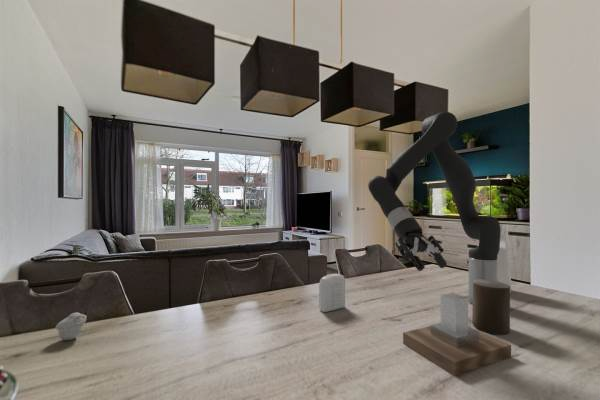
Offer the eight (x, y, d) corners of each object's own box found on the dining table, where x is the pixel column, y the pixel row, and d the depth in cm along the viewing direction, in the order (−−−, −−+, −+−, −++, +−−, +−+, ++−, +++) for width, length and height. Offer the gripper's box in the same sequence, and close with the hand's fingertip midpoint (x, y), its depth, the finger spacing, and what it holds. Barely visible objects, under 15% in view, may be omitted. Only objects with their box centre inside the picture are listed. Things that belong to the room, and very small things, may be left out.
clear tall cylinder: (474, 290, 127) (474, 230, 127) (479, 284, 135) (479, 228, 135) (508, 296, 119) (508, 232, 119) (511, 290, 128) (511, 230, 128)
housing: (451, 329, 82) (451, 290, 82) (479, 342, 75) (479, 298, 75) (430, 334, 79) (430, 293, 79) (457, 348, 71) (457, 303, 71)
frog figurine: (88, 338, 82) (88, 313, 82) (56, 347, 78) (56, 320, 78) (84, 331, 87) (84, 308, 87) (53, 339, 82) (53, 314, 82)
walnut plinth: (454, 330, 88) (454, 320, 88) (511, 356, 73) (511, 344, 73) (403, 343, 80) (403, 332, 80) (454, 375, 65) (454, 362, 65)
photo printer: (339, 304, 110) (339, 271, 110) (347, 307, 106) (347, 273, 106) (317, 309, 104) (317, 275, 104) (324, 313, 101) (324, 277, 101)
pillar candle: (498, 337, 83) (499, 285, 83) (465, 324, 92) (466, 276, 92) (516, 331, 88) (517, 281, 88) (483, 319, 96) (484, 273, 96)
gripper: (392, 217, 88) (422, 262, 78) (427, 216, 94) (459, 258, 83) (380, 233, 93) (407, 277, 82) (414, 231, 99) (443, 272, 88)
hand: (433, 268), depth 83 cm, fingers open, 8 cm apart
